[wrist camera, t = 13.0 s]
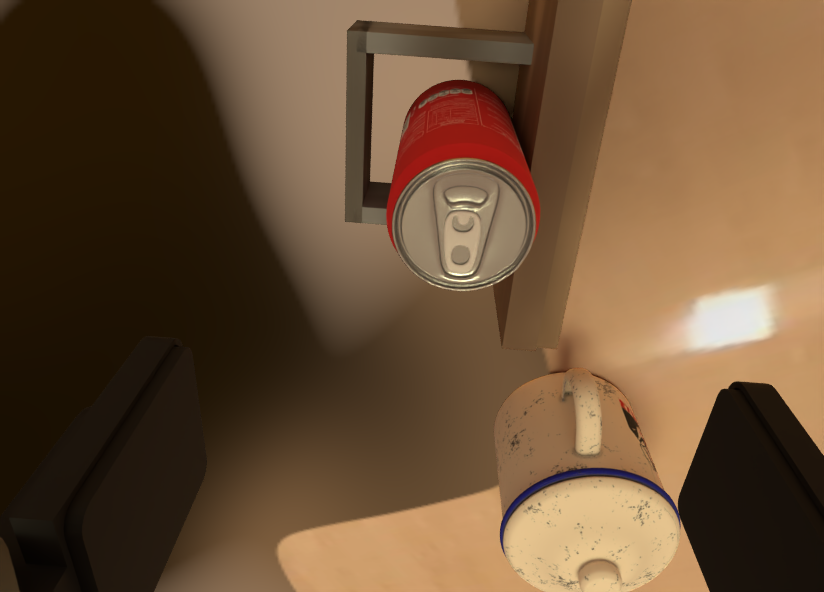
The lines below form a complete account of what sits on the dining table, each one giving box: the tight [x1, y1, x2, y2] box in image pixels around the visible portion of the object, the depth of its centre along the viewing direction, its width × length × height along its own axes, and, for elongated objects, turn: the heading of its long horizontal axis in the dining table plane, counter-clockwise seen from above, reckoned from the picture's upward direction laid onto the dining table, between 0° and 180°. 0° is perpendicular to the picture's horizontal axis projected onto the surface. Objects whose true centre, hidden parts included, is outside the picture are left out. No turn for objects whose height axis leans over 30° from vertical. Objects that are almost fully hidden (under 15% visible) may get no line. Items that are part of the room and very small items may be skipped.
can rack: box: [345, 0, 632, 351], centre depth 28 cm, size 10×16×8 cm, turn 176°
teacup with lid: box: [494, 368, 680, 592], centre depth 34 cm, size 12×9×12 cm
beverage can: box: [386, 80, 540, 291], centre depth 26 cm, size 5×5×12 cm
